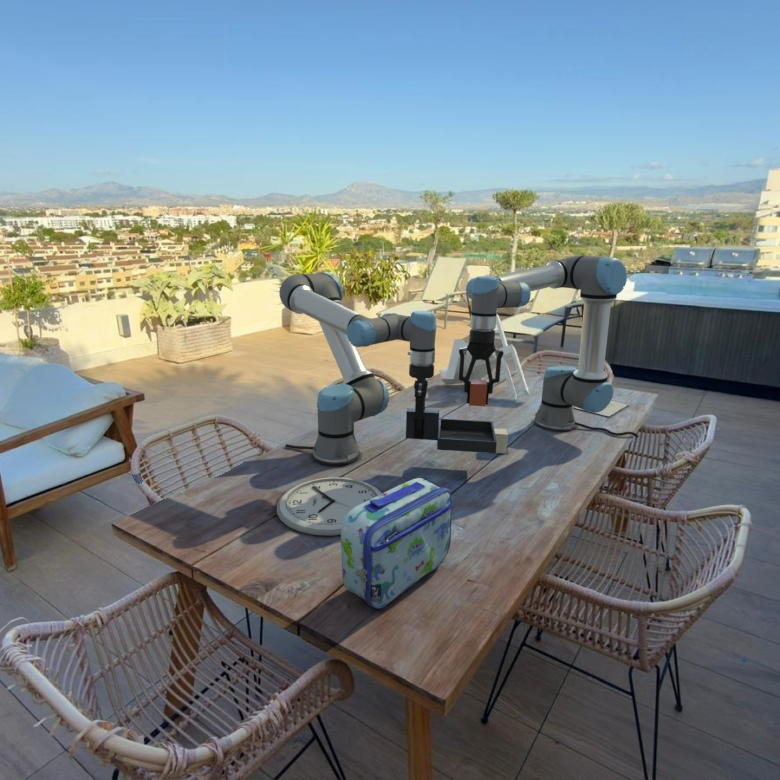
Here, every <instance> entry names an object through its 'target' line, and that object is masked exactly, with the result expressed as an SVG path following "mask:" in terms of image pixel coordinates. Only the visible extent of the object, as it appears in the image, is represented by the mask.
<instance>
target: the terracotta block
mask: <svg viewBox="0 0 780 780" xmlns="http://www.w3.org/2000/svg"><path fill="white" fill-rule="evenodd" d="M487 382H488V381H487V379H483V380H472V379H470V383H471V384H470V398H469V404H468V406H473V407H487V405H486V394H487Z"/></svg>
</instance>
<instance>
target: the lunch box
mask: <svg viewBox="0 0 780 780" xmlns="http://www.w3.org/2000/svg"><path fill="white" fill-rule="evenodd" d="M451 539H452V494H451V491H450V490H449V488H446V487H439V486H437V485H435V484H434V483H432V482H430V481H428V480H426V479H424V478H421V477H416V478H413V479H410V480H408V481H405V482H403V483H402V484H398V485H397V486H395V487H392V488H390V489H389V490H386V491H384V492H382V494H380V495H378V496H376V497H374V498H372V499H370V500H368V501H366V502H364V503H362V504H360V505H358V506H356V507H354V508H353V509H351V510H350V511H349V512H348V514H347V515H346V517H345V518H344V520H343V523H342V528H341V535H340V546H341V569H342V570H341V571H342V582H343V585H344V588H345V589H346V590H347V591H349V592H351V593H353V594H355V595H356V596H358V597H359V598H361V599H362V600H364V601H365V602H366V603H367V605H368V606H370V607H372V608H374V609H378V610H379V609H380V610H381V609H383V608H384V607H387V605H389V604H390V603H391V602H392V601H393V600H395V599H396V598H397V597H399V596H400V595H402V594H403V593H404V592H405V591H407V590H408V589H409V588H411V587H412V586H413V585H415V584H416V583H418V581H419V580H420V579H421V578H423V577H425V576H427V575H428V574H429V573H431V572H432V571H434V570H435V569H437V568H438V567H439V566H441V564H442V563H443V562H444V561H445V559H446V557H447V556H448V554H449V550H450V547H451V541H452V540H451Z"/></svg>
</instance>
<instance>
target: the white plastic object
mask: <svg viewBox="0 0 780 780" xmlns="http://www.w3.org/2000/svg"><path fill="white" fill-rule="evenodd" d="M496 328H497V332H498V335H499V338H500V342H501V345H502V347H500V348H498V349H499V350H503V356H502V358H501V366H502V370H503V373H504V376H505V380H506V383H507V386H508V390H509V393H510V394H511V395H512V397H513V398H514V399H515V400H517V392H516V391H517V390H516V388H515V385H514V381H513V378H512V375H511V371H510V369H509V365H508V361H510V360H513V363H514V366H515V369H516V372H517V376H518V380H519V382H520V385H521V389H522V391H523V393H524V395H525V396H526V397H528V396H531V395H530V390H529V388H528V387H529V386H528V384H527V381H526V378H525V375H524V371H523V369H522V368H523V367H522V366H521V362H520V359H519V355H518V352H517V349H516V347H515V346H514V345H513V343H511V344H508V341H507V337H506V334H505V331H504V328H503V325H502V321H501V318H500V315H499V314H498V313H497V315H496ZM467 346H468V343H466V342H465V340H464V339H463V338H460V339H458V338H454V340H453V344H452V349H451V353H450V357H449V362H448V366H446V367H444V368H442V369H440V370H439V371H438V372H439V376H440V381H442V383H443V384H444V385H445V386H449V385H458V384H464V382H463V381H460V380H459V368H460V354H459V348H465V347H467ZM471 358H472V356H471V354H470V353H469V351H467V352H466V355H464V369H463V376H464V377H465V376H466V373H467V370H468V367H469V364H470V361H471ZM496 358H497V356H496V355H495V352H494V353H493V354H492V355H491V356H490V357H489V362H490V367H491V372H494V371H495V370H496ZM486 376H488V373H487V367H486V362H485V360H481V359H480V360H476V362H475V364H474V367H473V370H472V373H471V376H470V379H472V380H484V378H485V377H486ZM470 379H469V381H470Z"/></svg>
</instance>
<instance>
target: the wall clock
mask: <svg viewBox="0 0 780 780" xmlns="http://www.w3.org/2000/svg"><path fill="white" fill-rule="evenodd" d="M382 493H383V492H382V491H381V490H380V489H379V488H377V487H376V486H374V485H372V484H371V483H369V482H365V481H362V480H359V479H355V478H349V477H338V476H337V477H335V476H333V477H332V476H331V477H322V478H317V479H312V480H307V481H305V482H302V483H299V484H297V485H295V486H293V487H292V488H290V489H288V490H287V491H286V492H285V493H284V494H283V495H281V496H280V498H279V499H278V502H277V503H276V515H277V517H278V518H279V520H280V521H281V522H282V523H283V524H285V525H286V526H287V527H288V528H290V529H293V530H295V531H297V532H299V533H303V534H308V535H312V536H327V537H328V536H329V537H331V536H332V537H333V536H341V528H342V523H343V520H344V518H345V517H346V515H347V514H348V512H349V511H350V510H351V509H353V508H354V507H356V506H358V505H360V504H362V503H364V502H366V501H368V500H370V499H372V498H374V497H376V496H378V495H380V494H382Z"/></svg>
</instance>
